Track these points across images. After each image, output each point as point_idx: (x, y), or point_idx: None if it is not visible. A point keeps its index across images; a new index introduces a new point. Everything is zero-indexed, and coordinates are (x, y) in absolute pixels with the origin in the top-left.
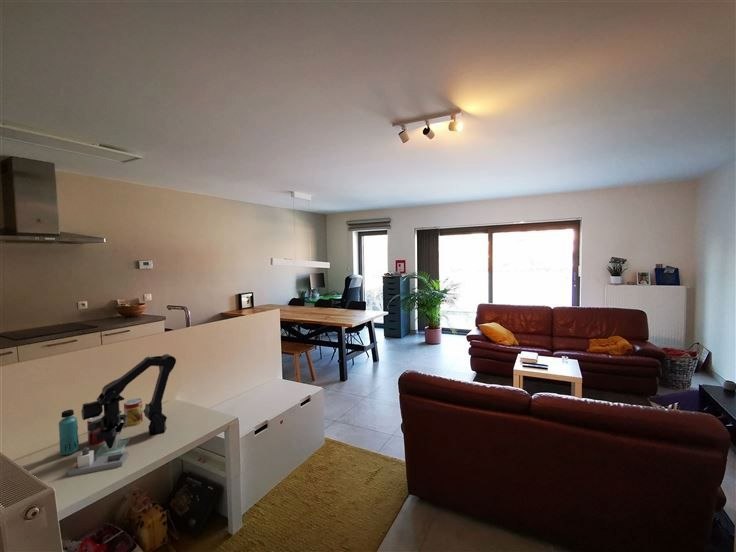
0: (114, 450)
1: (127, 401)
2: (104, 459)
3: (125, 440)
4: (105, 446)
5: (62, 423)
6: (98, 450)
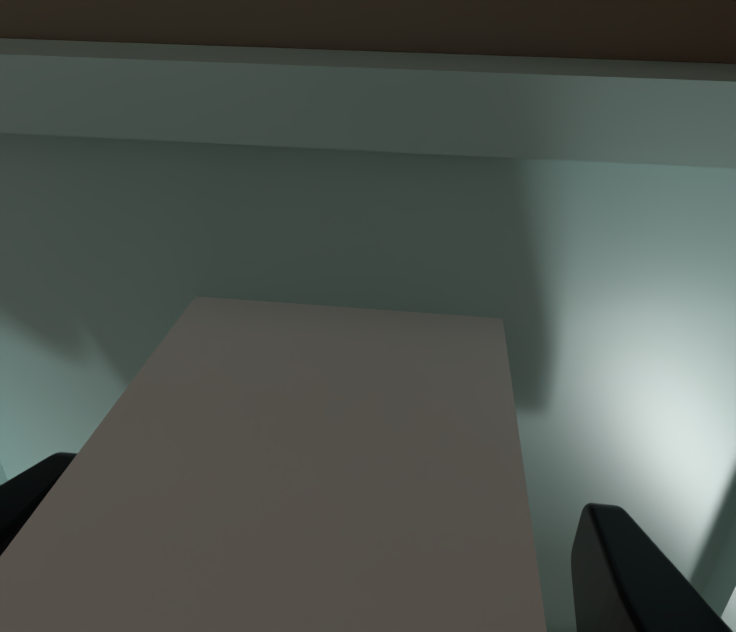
0: None
1: None
2: None
3: None
4: (529, 192)
5: None
6: (161, 66)
